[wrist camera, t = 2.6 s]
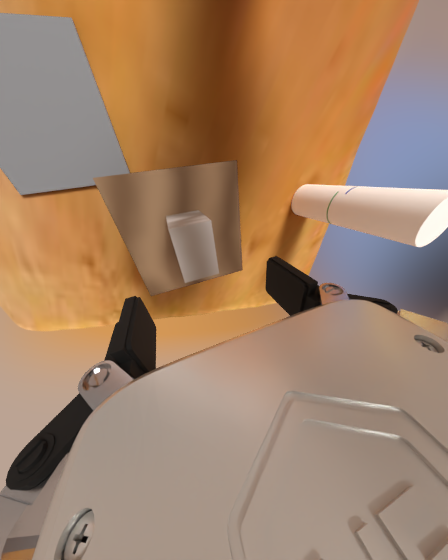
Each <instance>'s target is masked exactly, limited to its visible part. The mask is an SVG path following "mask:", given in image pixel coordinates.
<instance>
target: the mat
mask: <svg viewBox="0 0 448 560" xmlns="http://www.w3.org/2000/svg"><path fill="white" fill-rule="evenodd" d="M0 168H1V169H2V171H3V172H4V173H5V175H6V176H7V177H8V179H9V180H10V181H11V183H12V184H13V185H14V187H15V188H16V189H17V191H18V192H19V193H20V195H25V194H32V193H40V192H47V191H55V190H63V189H70V188H78V187H85V186H93V185H96V184H95V182H94V180H93V178H96V177H104V176H112V175H120V174H128V173H130V172H129V169H128V166H127V164H126V161H125V158H124V156H123V153H122V150H121V148H120V145H119V142H118V140H117V137H116V134H115V132H114V129H113V126H112V124H111V121H110V118H109V116H108V113H107V110H106V108H105V105H104V102H103V100H102V97H101V94H100V92H99V89H98V86H97V84H96V81H95V78H94V76H93V73H92V70H91V68H90V65H89V62H88V60H87V57H86V54H85V52H84V49H83V46H82V44H81V41H80V38H79V36H78V33H77V30H76V28H75V25H74V22H73V20H72V18H68V17H53V16H38V15H23V14H8V13H0Z"/></svg>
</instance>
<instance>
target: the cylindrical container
mask: <svg viewBox="0 0 448 560" xmlns="http://www.w3.org/2000/svg"><path fill="white" fill-rule="evenodd" d="M291 207H292V211H293V212H294V213H295V214H296V215H299V216H303V217H307V218H311V219H315V220H318V221H322V222H326V223H330V224H334V225H338V226H341V227H345V228H349V229H353V230H356V231H360V232H364V233H367V234H371V235H375V236H379V237H383V238H387V239H390V240H394V241H398V242H401V243H405V244H409V245H413V246H416V247H422V246H425V245H427V244H429V243H430V242H432V241H433V240H434V239H436V238H437V237H438V236H439V235H440V234H441V233H442V232H443V231H444V230H445V229H446V228H447V227H448V190H431V189H406V188H382V187H358V186H334V185H310V184H306V185H303V186H301V187H300V188H299V189H298V190H297V191H296V192H295V194H294V196H293V199H292V203H291Z"/></svg>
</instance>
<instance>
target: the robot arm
mask: <svg viewBox="0 0 448 560" xmlns="http://www.w3.org/2000/svg"><path fill="white" fill-rule="evenodd" d="M317 284H318V282H317V281H316V280H314V279H312V278H311V277H309V276H308V275H306V274H304V273H303V272H301V271H300V270H298V269H296V268H295V267H293V266H292V265H290V264H289V263H287V262H285V261H284V260H282V259H281V258H279V257H277V256H275V257H272V258H269V260H268V261H267V271H266V291H267V293H268V294H269V295H270V296H271V297H272V298H273V299H274V300H275V301H276V302H277V303H278V304H279V305H280V306H281V307H282V308H283V309H284V310H285V311H286V312H287V313H288V314H289V315H290V316H289V317H287V318H284V319H282V320H279V321H276V322H273V323H271V324H268V325H265V326H263V327H260V328H258V329H255V330H253V331H250V332H247V333H245V334H242V335H240V336H237V337H234V338H232V339H229V340H227V341H224V342H222V343H219V344H216V345H214V346H211V347H209V348H206V349H204V350H201V351H198V352H196V353H193V354H191V355H188V356H186V357H183V358H181V359H178V360H176V361H174V362H171V363H169V364H166V365H164V366H161V367H159V368H157V369H156V326H155V324H154V322H153V320H152V318H151V316H150V315H149V313H148V311H147V309H146V307H145V305H144V303H143V302H142V300H141V298H140V297H138V298H137V297H136V296H134V297H130V298H127V299H125V302H124V305H123V309H122V312H121V316H120V319H119V322H117V323H116V325H115V328H114V331H113V334H112V337H111V341H110V344H109V347H108V351H107V354H106V357H105V360H104V361H102V362H99V363H98V364H96V365H94V366H93V367H92V368H90V369H89V370H88V371H87V372H86V373H85V374H84V375H83V377H82V378H81V380H80V382H79V385H78V391H79V394H78V395H77V397H75V398H74V399H73V400H72V401H71V402H70V403H69V404H68V405H67V406H66V407H65V408H64V409H63V410H62V411H61V412H60V413H59V414H58V415H57V416H56V417H55V418H54V419H53V420H52V421H51V422H50V423H49V424H48V425H47V426H46V427H45V428H44V429H43V430H42V431H41V432H40V433H38V434H37V436H35V437H34V438H33V439H32V440H31V441H30V442H29V443H28V444H27V445H26V447H25V448H24V449H23V450H22V451H21V452H20V453H19V455H18V456H17V458H16V459H15V460H14V462H13V463H12V465H11V467H10V469H9V471H8V474H7V478H6V486H5V487H4V488H3V490H2V491H1V492H0V560H448V323H446V322H442V321H439V320H436V319H432V318H429V317H425V316H422V315H419V314H416V313H412V312H409V311H406V310H403V309H400V311H398V310H397V308H396V307H395V306H394V305H392V304H391V303H389V302H387V301H385V300H382V299H377V298H371V297H364V296H358V295H351V294H347V292H346V290H345V289H344V288H343V287H341V286H339V285H337V284H333V283H324V284H321V285H320V286H318V285H317Z"/></svg>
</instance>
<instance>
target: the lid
mask: <svg viewBox="0 0 448 560" xmlns="http://www.w3.org/2000/svg"><path fill="white" fill-rule="evenodd" d="M93 180H94V182H95V184H96V186H97V188H98V190H99V192H100V194H101V196H102V198H103V200H104V202H105V204H106V206H107V208H108V210H109V212H110V214H111V216H112V218H113V220H114V222H115V224H116V226H117V228H118V230H119V232H120V234H121V236H122V238H123V240H124V242H125V244H126V246H127V249H128V251H129V253H130V255H131V257H132V259H133V261H134V263H135V265H136V267H137V269H138V271H139V273H140V275H141V277H142V279H143V281H144V283H145V285H146V287H147V289H148V291H149V293H150V295H151V296H153V295H157V294H160V293H164V292H167V291H171V290H174V289H178V288H182V287H185V286H189V285H192V284H196V283H199V282H203V281H206V280H210V279H213V278H217V277H220V276H224V275H227V274H231V273H234V272H238V271H241V270H242V252H241V232H240V212H239V192H238V172H237V160H234V161H226V162H217V163H209V164H201V165H193V166H185V167H177V168H169V169H161V170H152V171H144V172H136V173H128V174H120V175H112V176H104V177H96V178H93Z"/></svg>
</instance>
